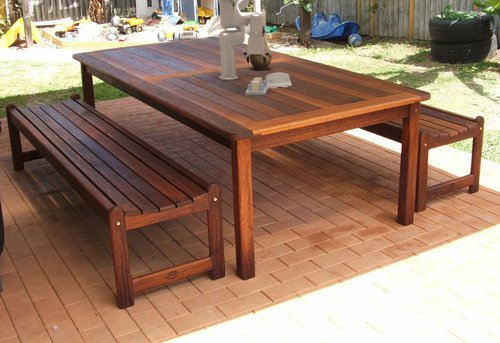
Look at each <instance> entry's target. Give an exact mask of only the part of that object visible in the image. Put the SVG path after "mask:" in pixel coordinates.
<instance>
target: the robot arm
mask: <svg viewBox="0 0 500 343" xmlns="http://www.w3.org/2000/svg"><path fill="white" fill-rule="evenodd" d="M231 1H232V2H233V3H234V6H233V4H232V2H231ZM217 2H218V4H219V19H220V20H219V21H220V22H219V23H220V27H221V28H222V29H226V30H223V31H220V32H219V33H218V43H219V52H220V73H221V74H220V75H219V76H218V79H219V80H222V81H233V80H234V81H235V80H237V79H238V78H239V76H238V75H236V52H235V49H234V48H233V47H232V46H234V45H242V44H244V43H245V39H246V31H245V28H246V27H245V26H246V25H247V26H249V32H247V36H249V37H247V46H246V47H243V48H242V49H241V52H242V53H243V54H244V56H245V58H246V63H247V64H249V63H250V55H251V54H262V55H263V56H264V57H263V64H265V62H266V56H267V55H268V54H269V52H270V51H271V49H270V47H269V48H267V47H265V44H264V40H265V36H264V37H262V26H263V14H261V13H259V12H258V11H243V10H245V9H246V8H247V7H248V6H249V4H250V0H217ZM234 28H235V29H234ZM227 29H229V30H227ZM265 49H266V50H267V51H268V52H267V53H266V54H265ZM246 50H247V51H246Z"/></svg>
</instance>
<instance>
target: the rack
mask: <svg viewBox="0 0 500 343" xmlns="http://www.w3.org/2000/svg"><path fill="white" fill-rule="evenodd" d="M253 80H254V79H253ZM253 80H250V82H249V83H248V84H247V89H246V91H245V93H244V94H245V95H249V96H253V95H254V96H266V95H267V93H268V90H269V89H268V86H266V80H265V79H264V80H263V79H262V84H261V89H260V91H259V92H252V81H253Z"/></svg>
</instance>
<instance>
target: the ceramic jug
mask: <svg viewBox="0 0 500 343" xmlns="http://www.w3.org/2000/svg"><path fill="white" fill-rule="evenodd" d="M265 33H266V30H265V26H264V25H262V37H264V38H265V36H264V35H265ZM264 44H265V47H267V48H269V49H270V47H269V45H268V44H267V42H266V41H265V39H264ZM267 52H268V51H267V50H266V49H265V54H266V53H267ZM263 57H264V56H263V55H262V54H249V63H250V64H251V66H252V67H253V70H254V71H266V70H267V69H268V67H269V66H270V65H271V63H272V58H273V56H272V52H271V50H270V52H269V54H268V55H267V56H266V62H265V64H263ZM265 69H266V70H265Z"/></svg>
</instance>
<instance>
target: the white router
mask: <svg viewBox="0 0 500 343" xmlns="http://www.w3.org/2000/svg"><path fill="white" fill-rule="evenodd" d="M264 80H266V86H268V90H269V88H272V89H278V88H277V87H283V88H289V87H288V86H292V87H293V85H292V82H291V78H290V75H289V73H286V72H280V71H279V72H273V73H269V74H266V76H265V77H264Z"/></svg>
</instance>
